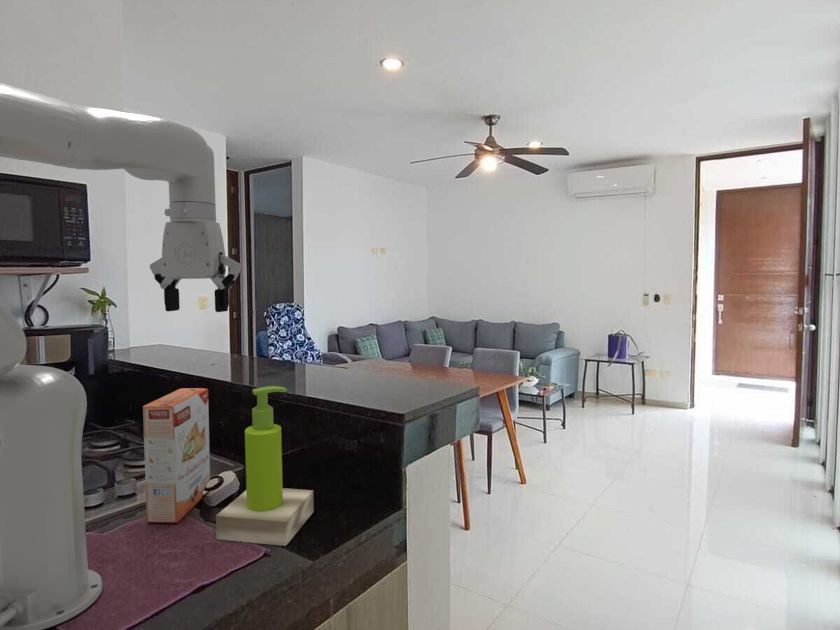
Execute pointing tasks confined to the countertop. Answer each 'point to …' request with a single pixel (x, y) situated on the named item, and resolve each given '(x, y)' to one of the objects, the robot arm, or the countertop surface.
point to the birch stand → (265, 519)
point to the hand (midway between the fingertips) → (197, 311)
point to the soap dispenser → (264, 455)
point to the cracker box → (176, 453)
